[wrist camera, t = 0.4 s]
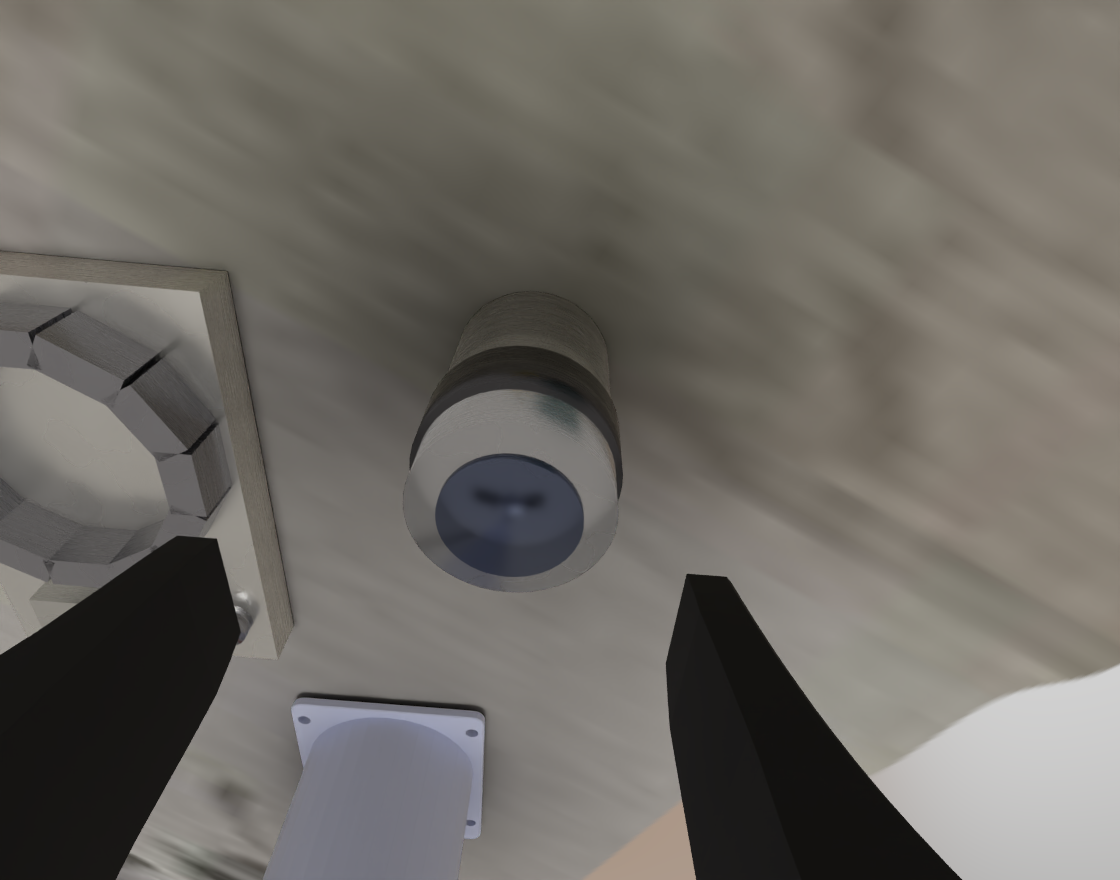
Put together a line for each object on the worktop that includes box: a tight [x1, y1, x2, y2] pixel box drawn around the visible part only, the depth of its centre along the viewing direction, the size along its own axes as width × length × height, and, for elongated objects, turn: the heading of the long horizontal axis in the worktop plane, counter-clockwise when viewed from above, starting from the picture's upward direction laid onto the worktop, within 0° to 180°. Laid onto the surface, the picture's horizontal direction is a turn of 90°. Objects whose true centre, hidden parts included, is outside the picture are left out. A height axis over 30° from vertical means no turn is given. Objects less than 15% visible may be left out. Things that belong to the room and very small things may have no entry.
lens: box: [403, 291, 623, 592], centre depth 17 cm, size 5×5×7 cm
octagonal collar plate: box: [0, 251, 294, 660], centre depth 21 cm, size 14×9×3 cm, turn 175°
